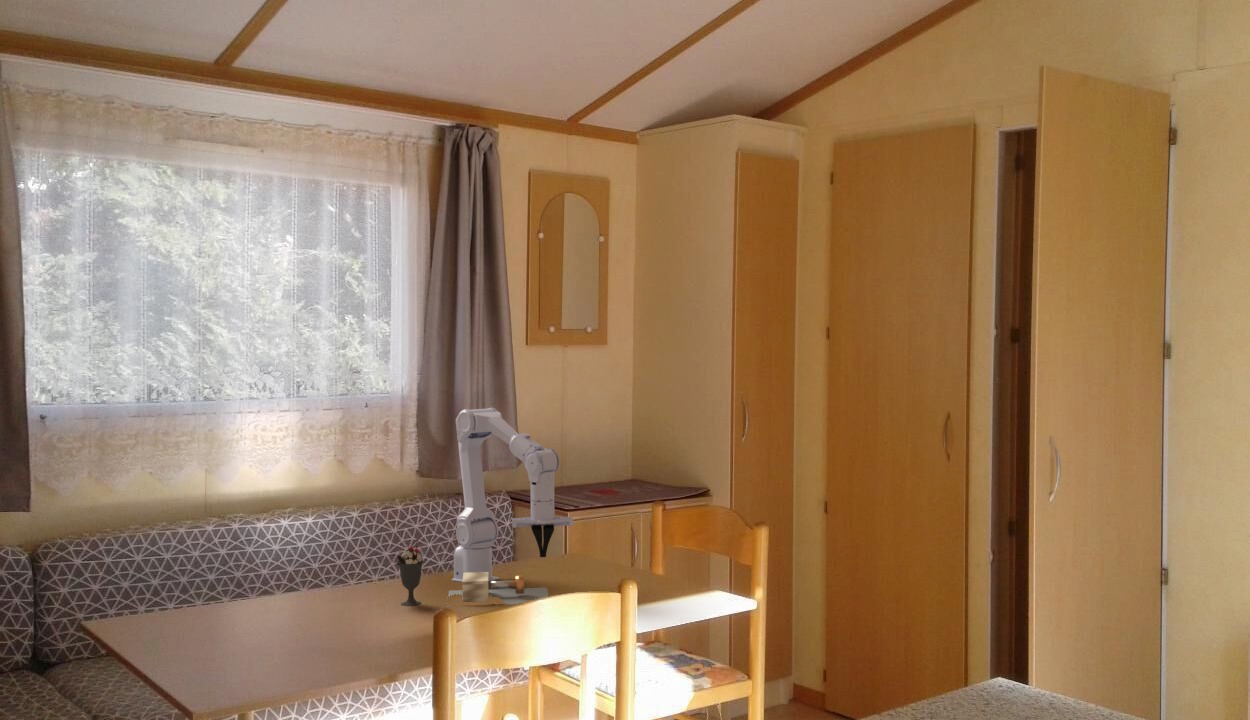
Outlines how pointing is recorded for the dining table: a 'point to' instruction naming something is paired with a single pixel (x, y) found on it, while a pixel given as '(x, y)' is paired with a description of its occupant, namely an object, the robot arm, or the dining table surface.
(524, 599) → the mat
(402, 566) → the sundae
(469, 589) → the hitch block
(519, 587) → the pin
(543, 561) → the dining table surface
